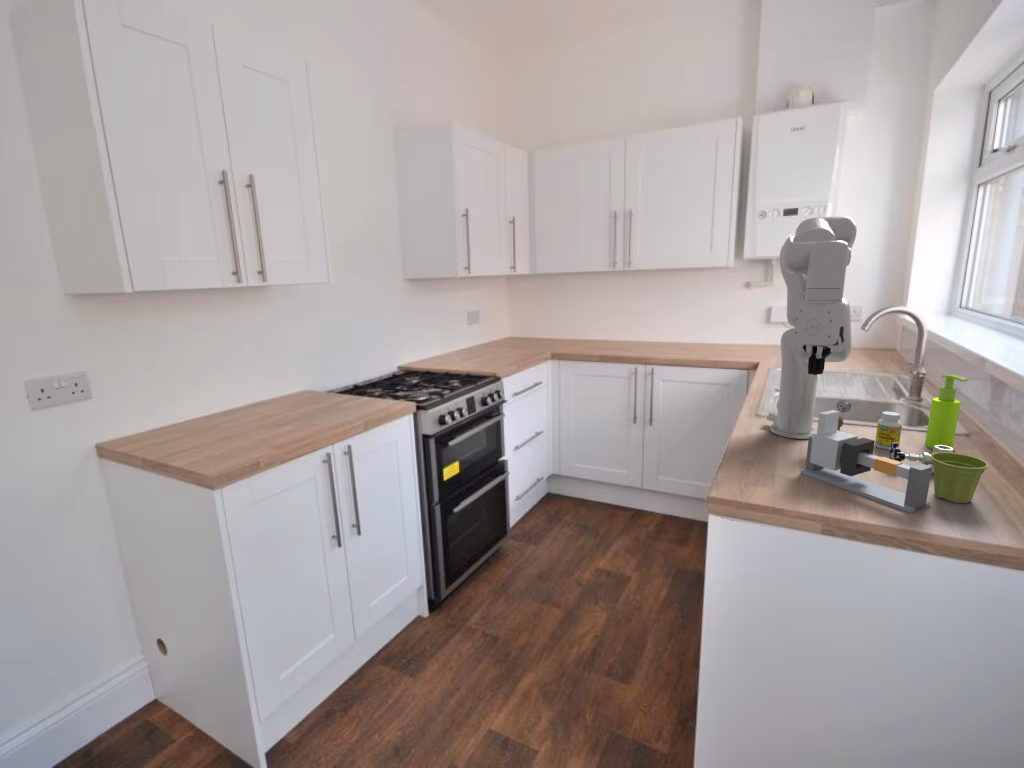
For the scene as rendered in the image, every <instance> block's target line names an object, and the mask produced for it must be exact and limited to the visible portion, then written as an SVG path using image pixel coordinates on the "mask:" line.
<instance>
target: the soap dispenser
mask: <svg viewBox="0 0 1024 768" xmlns="http://www.w3.org/2000/svg"><path fill="white" fill-rule="evenodd" d="M942 378H945V382H944V385H942V386H940V387H939V393H938V397H933V398H932V399H931V405H930V411H929V416H928V417H929V418H928V423H927V429H926V436H925V441H924V445H925V446H926V447H928V448H931V449H933V448H934V446H936V445H943V446H948V447H951V448H953V447H954V443H955V437H956V432H957V431H956V430H957V425H958V419H959V413H960V407H961V403H962V401H960V400H958V399H956V396H957V390H958V389H957V387H955V386H954V383H955V380H957V381H960V382H967V381H969V379H968V378H966V377H963V376H961V375H954V374H942ZM953 449H954V448H953Z"/></svg>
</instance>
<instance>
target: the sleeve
mask: <svg viewBox="0 0 1024 768" xmlns="http://www.w3.org/2000/svg"><path fill="white" fill-rule="evenodd" d="M839 415H840V411H839V410H835V409H832V410H828V411H827V410H826V411H822V412H819V413H818V420H817V428H816V430H817V433H814V434H813V438H812V447H811V456H810V463H813V464H816V465H819V466H822V467H825V468H828V469H830V470H833V471H836V470H838V471H840V469H841V461H842V458H840V457H841V449H842V446H843V445H844V443H845V442H849V441H853V440H856V439H859V436H858V435H855V434H851V433H848V432H844V431H841V430H840V431H838V430H837V429H838V420H839Z"/></svg>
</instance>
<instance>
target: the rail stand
mask: <svg viewBox="0 0 1024 768" xmlns="http://www.w3.org/2000/svg"><path fill="white" fill-rule="evenodd" d="M812 438H813V436H810V437H809V439H807V440H808V441H807V442H808V443H807V449H806V450H807V451H806V457H805V458H806V461H805V468H801V470H800V473H801V474H803V475H806V476H808V477H811V478H814V479H817V480H820V481H822V482H825V483H827V484H831V485H833V486H836V487H839V488H841V489H843V490H847V491H849V492H851V493H855V494H857V495H861V496H863V497H865V498H869V499H870V500H874V501H875V502H879V503H881V504H883V505H886V506H890V507H892V508H894V509H898V510H900V511H903V512H905V513H908V514H912V513H915V512H917V511H919V510H923V509H925V508H929V507H930V506H931V505H930V504H931V502H930V501H928V496H929V495H928V494H929V490H930V489H929V488H930V482H931V478H932V477H931V476H932V473H931V472H932V466H931V465H929V464H928V465H925V464H921V463H918V464H915V465H911V466H910V465H907V464H905V463H903V462H902V461H901V462H899V461H896V460H892V459H889V457H885V456H879V455H874V454H873V455H872V454H868V453H865V452H861V451H859V452H858V458H857V463H858V464H861V465H864V466H867V467H870V468H871V469H873V470H874V471H877V472H879V473H882V474H885V475H889V476H891V477H895V476H896V477H899V478H902V479H905V480H907V483H906V490H905V493H904V492H902V491H899V490H895V489H892V488H890V487H887V486H884V485H880V484H878V483H876V482H872V481H869V480H866V479H864V478H861V477H858V476H856V475H854V476H848V475H845V474H842V473H840V470H836V471H833V470H830V469H828V468H825V467H822V466H819V465H816V464H813V463H810V456H811V447H812ZM842 453H843V446H842V449H841V457H840V458H842Z"/></svg>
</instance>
